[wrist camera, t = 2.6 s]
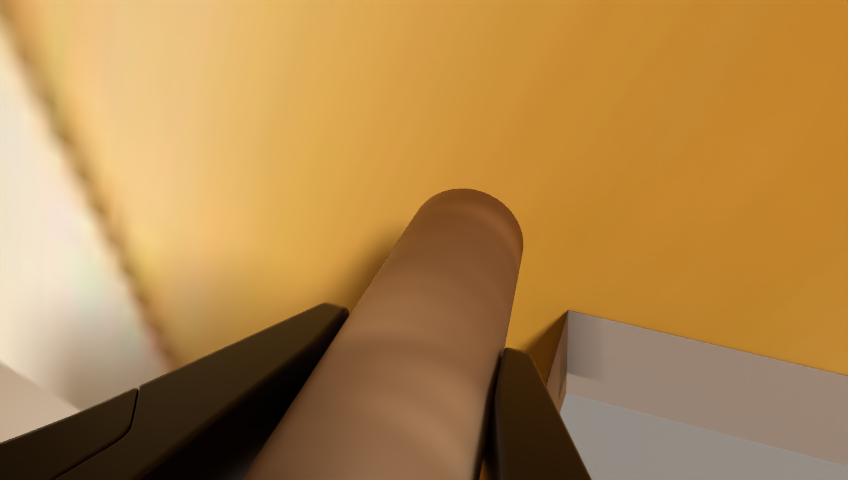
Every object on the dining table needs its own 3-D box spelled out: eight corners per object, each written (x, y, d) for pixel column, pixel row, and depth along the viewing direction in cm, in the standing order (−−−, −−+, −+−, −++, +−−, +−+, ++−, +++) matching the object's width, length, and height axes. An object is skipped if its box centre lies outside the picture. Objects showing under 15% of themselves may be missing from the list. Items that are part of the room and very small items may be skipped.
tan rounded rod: (534, 202, 12) (354, 1198, 2) (511, 302, 13) (328, 1236, 3) (417, 177, 12) (-161, 933, 3) (405, 277, 13) (-22, 1047, 4)
